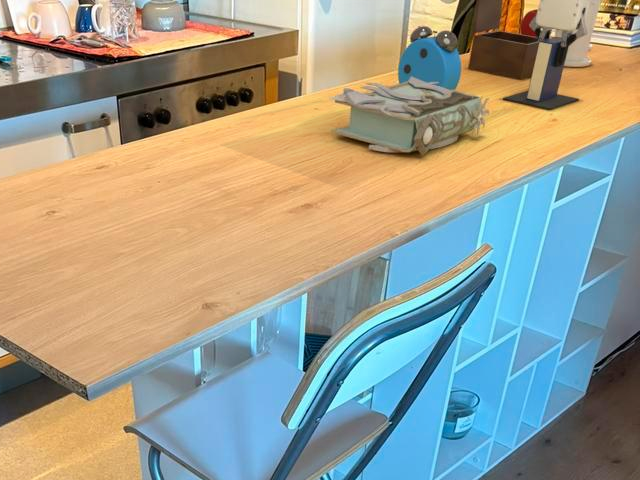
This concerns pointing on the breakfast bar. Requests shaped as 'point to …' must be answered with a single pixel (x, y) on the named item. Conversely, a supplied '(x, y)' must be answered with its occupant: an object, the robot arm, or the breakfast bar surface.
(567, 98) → the mat
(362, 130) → the ornate book
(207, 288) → the breakfast bar surface
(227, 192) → the breakfast bar surface
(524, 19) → the apple
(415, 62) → the alarm clock
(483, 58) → the chest
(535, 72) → the book
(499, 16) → the lid
